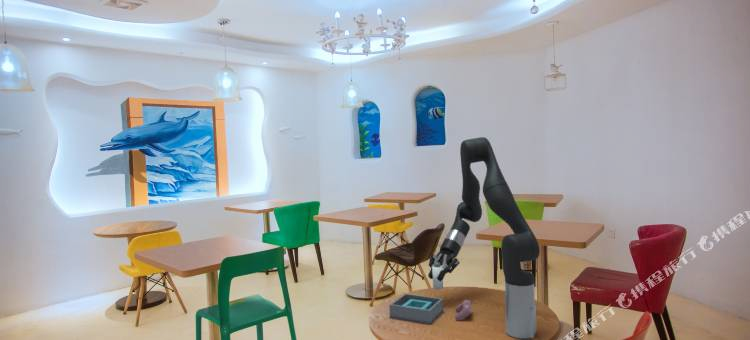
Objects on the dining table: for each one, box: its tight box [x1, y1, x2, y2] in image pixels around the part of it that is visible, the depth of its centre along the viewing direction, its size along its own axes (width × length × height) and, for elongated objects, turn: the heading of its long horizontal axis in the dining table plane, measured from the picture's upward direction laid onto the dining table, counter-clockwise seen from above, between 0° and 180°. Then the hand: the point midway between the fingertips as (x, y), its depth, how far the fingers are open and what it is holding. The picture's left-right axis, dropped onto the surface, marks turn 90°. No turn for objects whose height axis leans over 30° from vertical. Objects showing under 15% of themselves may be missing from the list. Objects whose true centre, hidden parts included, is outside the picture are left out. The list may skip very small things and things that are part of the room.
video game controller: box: [454, 298, 473, 321], centre depth 164 cm, size 10×5×7 cm, turn 169°
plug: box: [432, 262, 444, 290], centre depth 175 cm, size 4×4×10 cm
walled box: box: [388, 293, 445, 326], centre depth 167 cm, size 16×14×5 cm
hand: (434, 278), depth 174 cm, fingers closed on plug, 4 cm apart
